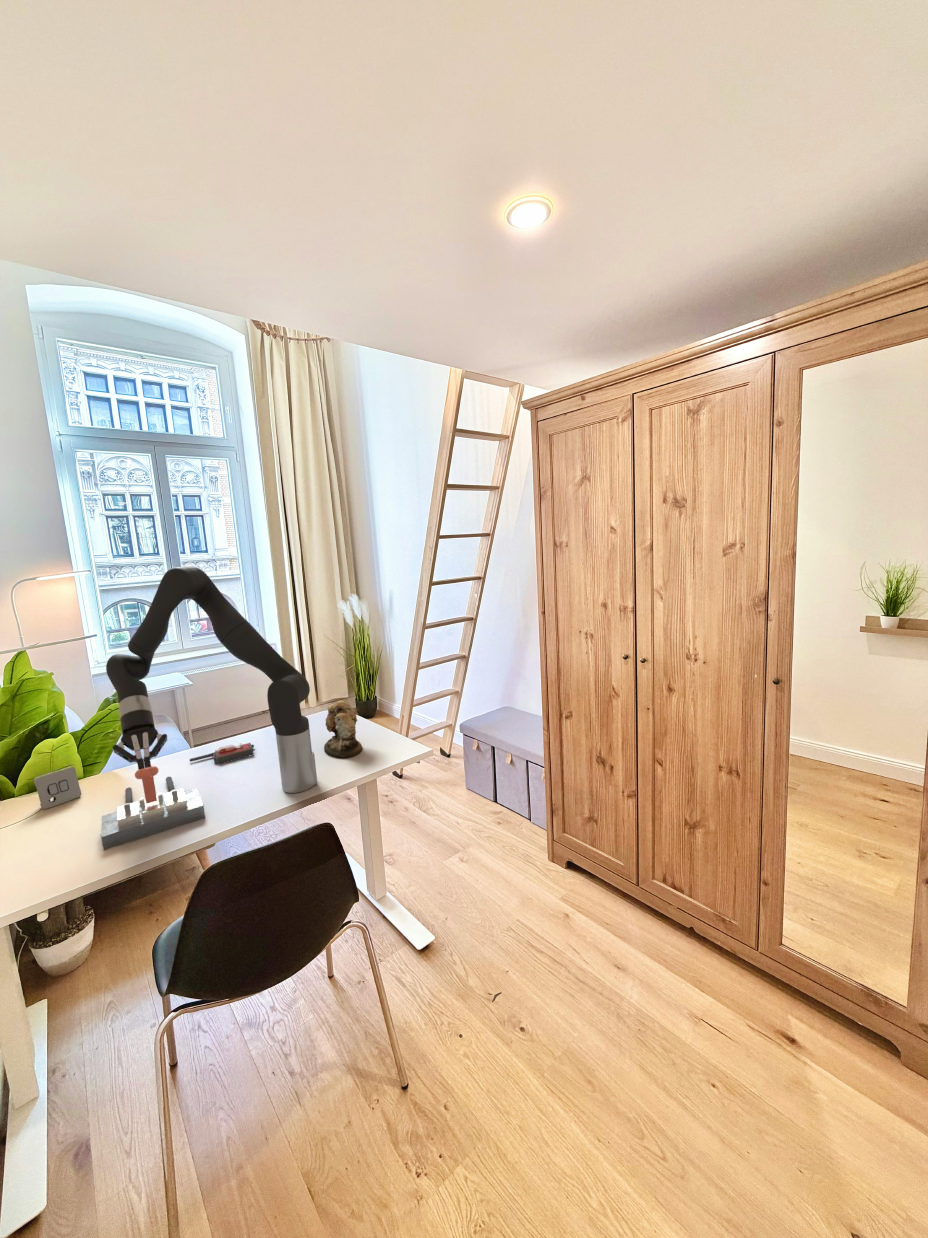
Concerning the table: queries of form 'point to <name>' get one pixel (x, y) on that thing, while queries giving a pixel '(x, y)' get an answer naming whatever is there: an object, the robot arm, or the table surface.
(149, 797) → the breaker lever
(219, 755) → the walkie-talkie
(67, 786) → the electrical switch
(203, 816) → the breaker panel
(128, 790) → the grey upright pegs
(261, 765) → the table surface
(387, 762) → the table surface
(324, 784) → the table surface
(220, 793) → the table surface
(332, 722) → the brown figurine
